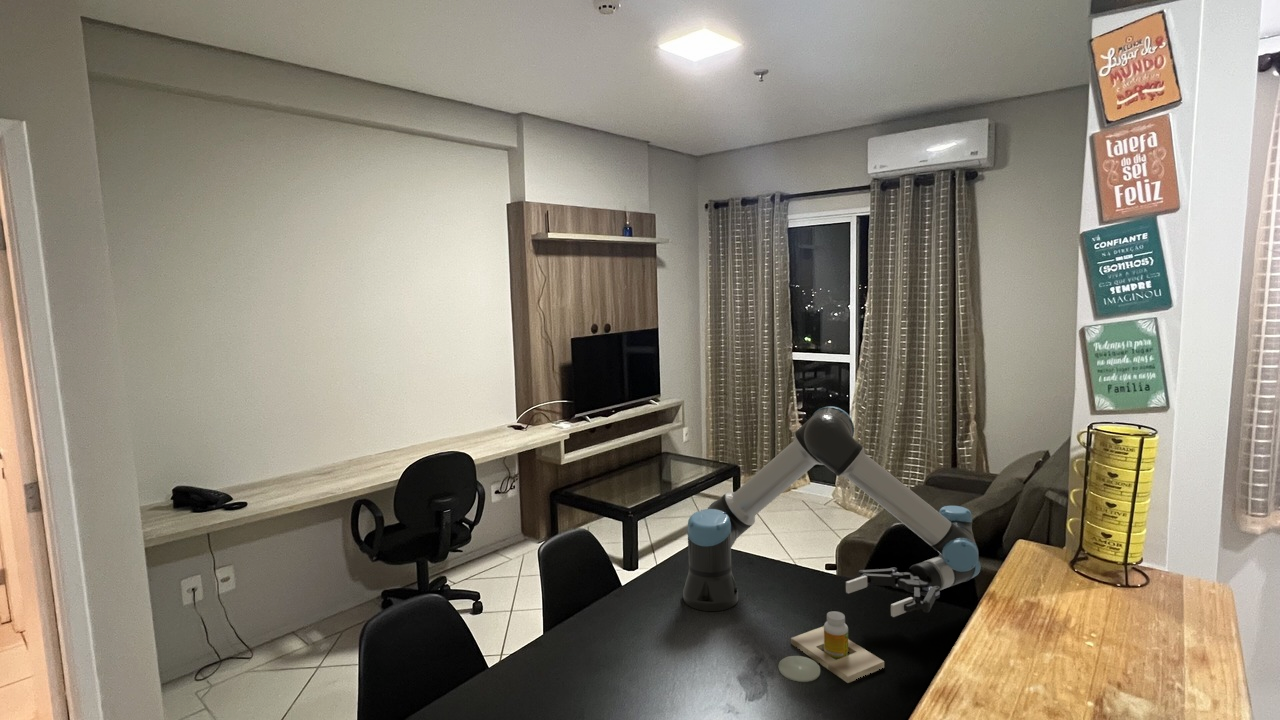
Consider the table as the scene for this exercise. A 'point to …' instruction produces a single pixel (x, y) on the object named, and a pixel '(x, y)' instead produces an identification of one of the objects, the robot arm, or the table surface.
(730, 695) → the table surface
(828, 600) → the table surface
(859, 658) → the socket plate
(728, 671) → the table surface
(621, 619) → the table surface
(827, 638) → the supplement bottle
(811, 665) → the pale green oval pebble
